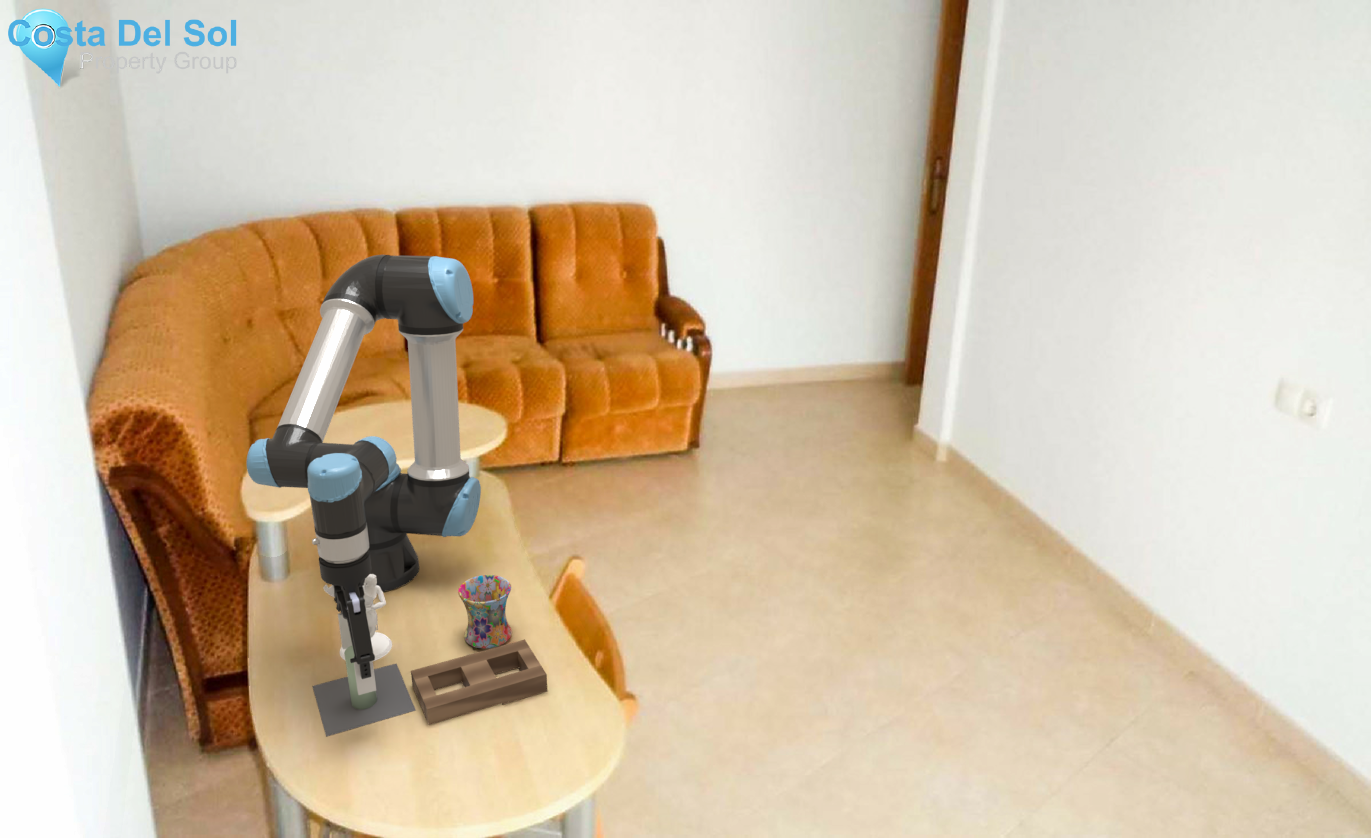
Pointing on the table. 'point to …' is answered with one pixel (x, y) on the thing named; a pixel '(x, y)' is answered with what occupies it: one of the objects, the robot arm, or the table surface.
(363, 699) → the sage peg
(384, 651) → the figurine
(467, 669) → the walnut hole block
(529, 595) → the table surface
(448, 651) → the table surface
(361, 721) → the rubber mat
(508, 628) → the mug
